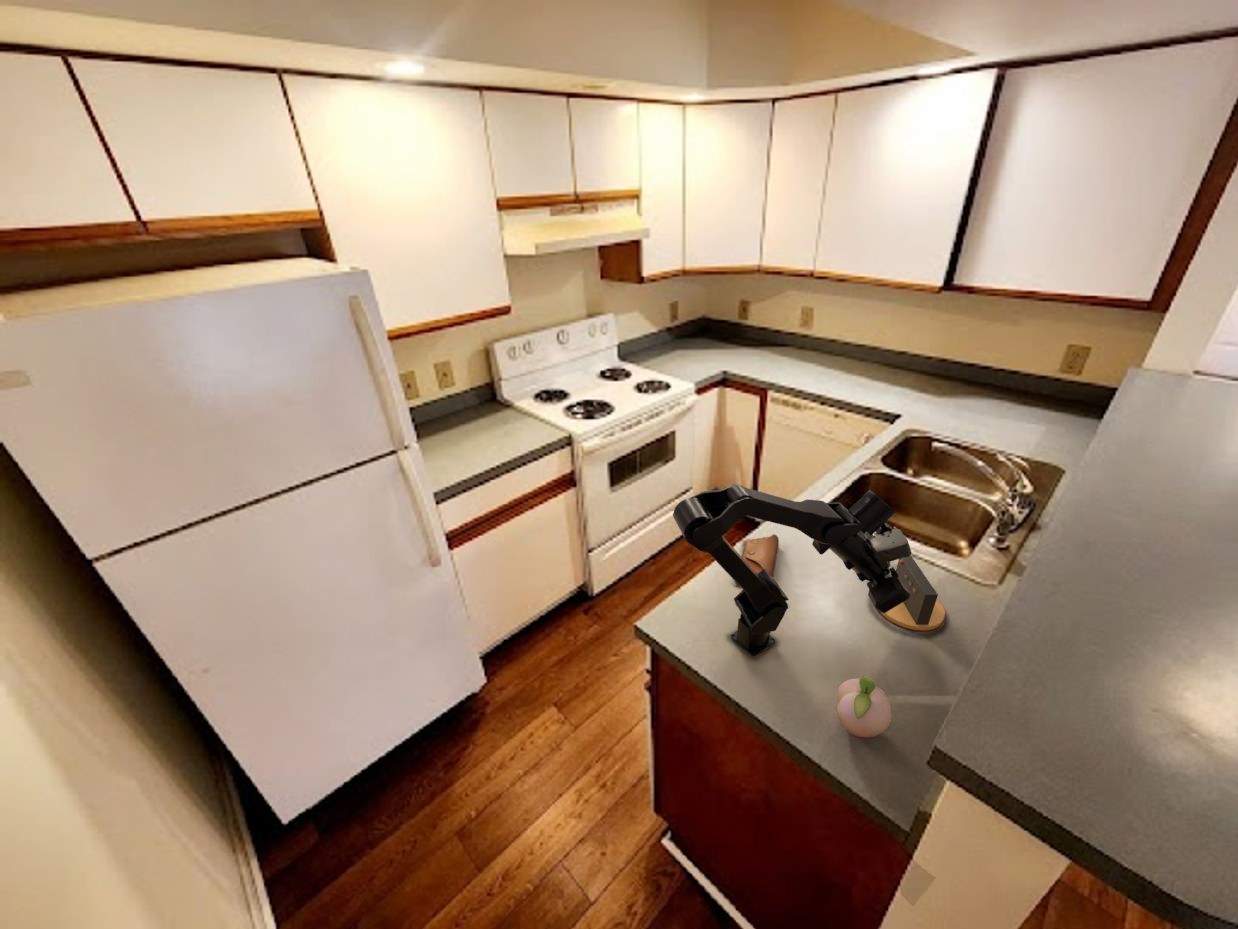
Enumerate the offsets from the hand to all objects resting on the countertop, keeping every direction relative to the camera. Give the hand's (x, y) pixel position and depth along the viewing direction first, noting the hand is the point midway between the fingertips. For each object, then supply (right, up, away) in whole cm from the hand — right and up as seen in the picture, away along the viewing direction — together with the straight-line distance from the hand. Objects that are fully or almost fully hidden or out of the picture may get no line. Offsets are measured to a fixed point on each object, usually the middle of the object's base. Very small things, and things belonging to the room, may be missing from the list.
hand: (898, 591), depth 106 cm
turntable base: (+6, -6, +8) cm, 11 cm away
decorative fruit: (-15, -20, -15) cm, 29 cm away
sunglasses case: (-22, +1, +23) cm, 32 cm away
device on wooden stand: (+6, -5, +7) cm, 10 cm away
